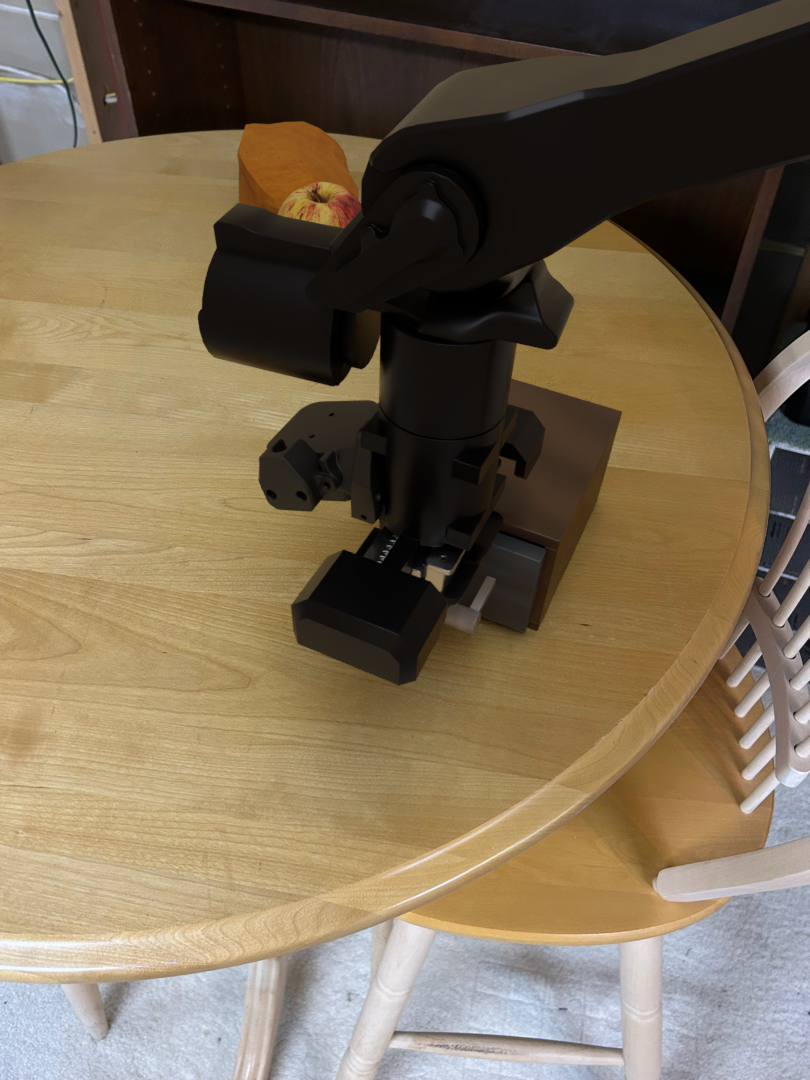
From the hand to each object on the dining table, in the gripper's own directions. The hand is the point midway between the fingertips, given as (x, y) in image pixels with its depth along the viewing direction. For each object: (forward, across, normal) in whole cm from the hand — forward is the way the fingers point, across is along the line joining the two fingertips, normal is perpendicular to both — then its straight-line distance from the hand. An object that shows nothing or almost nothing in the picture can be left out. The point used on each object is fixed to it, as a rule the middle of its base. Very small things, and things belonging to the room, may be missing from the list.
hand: (423, 621), depth 47 cm
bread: (+3, -50, -37) cm, 62 cm away
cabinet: (+4, -13, 0) cm, 13 cm away
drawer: (+3, -9, 0) cm, 9 cm away
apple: (+4, -37, -28) cm, 47 cm away
